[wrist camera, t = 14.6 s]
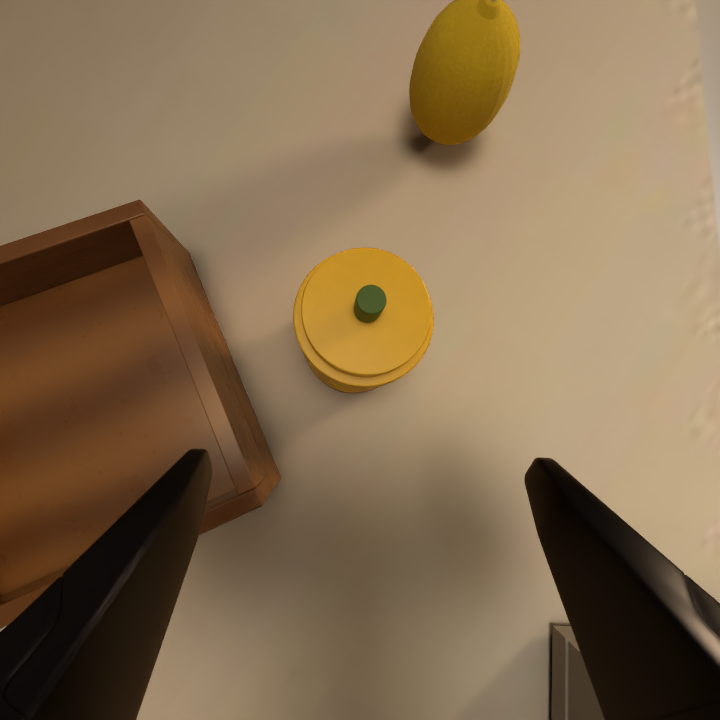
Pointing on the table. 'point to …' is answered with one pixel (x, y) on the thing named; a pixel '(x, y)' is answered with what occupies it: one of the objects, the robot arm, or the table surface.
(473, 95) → the lemon
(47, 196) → the table surface
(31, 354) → the wooden tray
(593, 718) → the labelled white carton
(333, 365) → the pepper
